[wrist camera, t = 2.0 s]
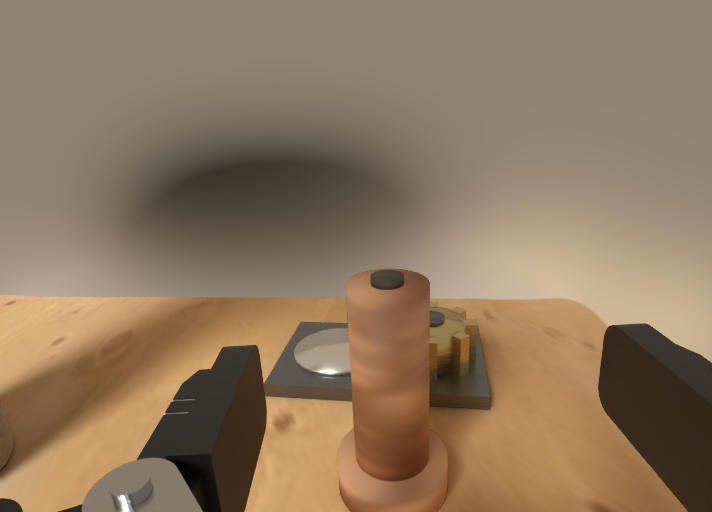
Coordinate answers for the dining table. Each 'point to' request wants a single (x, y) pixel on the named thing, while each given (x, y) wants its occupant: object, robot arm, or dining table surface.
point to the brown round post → (390, 398)
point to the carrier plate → (333, 374)
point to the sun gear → (451, 341)
